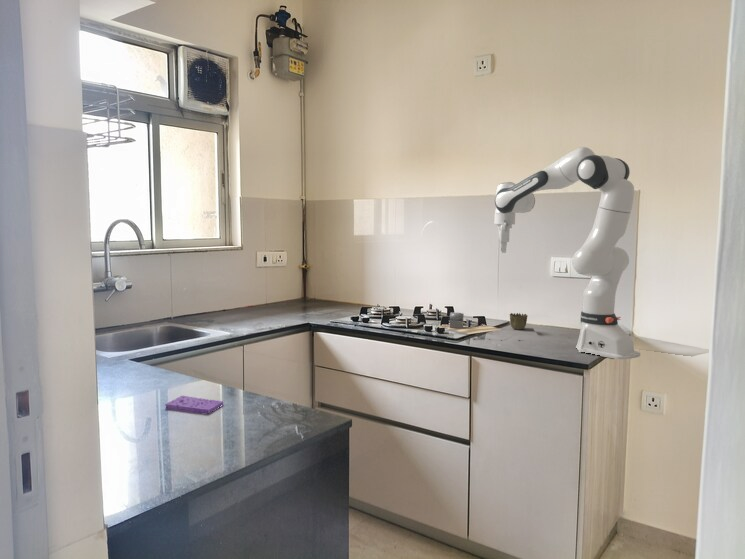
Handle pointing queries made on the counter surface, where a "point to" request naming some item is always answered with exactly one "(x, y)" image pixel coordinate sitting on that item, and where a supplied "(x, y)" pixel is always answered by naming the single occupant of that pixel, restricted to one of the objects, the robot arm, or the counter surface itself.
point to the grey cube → (456, 320)
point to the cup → (518, 321)
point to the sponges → (193, 404)
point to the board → (472, 329)
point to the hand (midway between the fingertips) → (503, 252)
